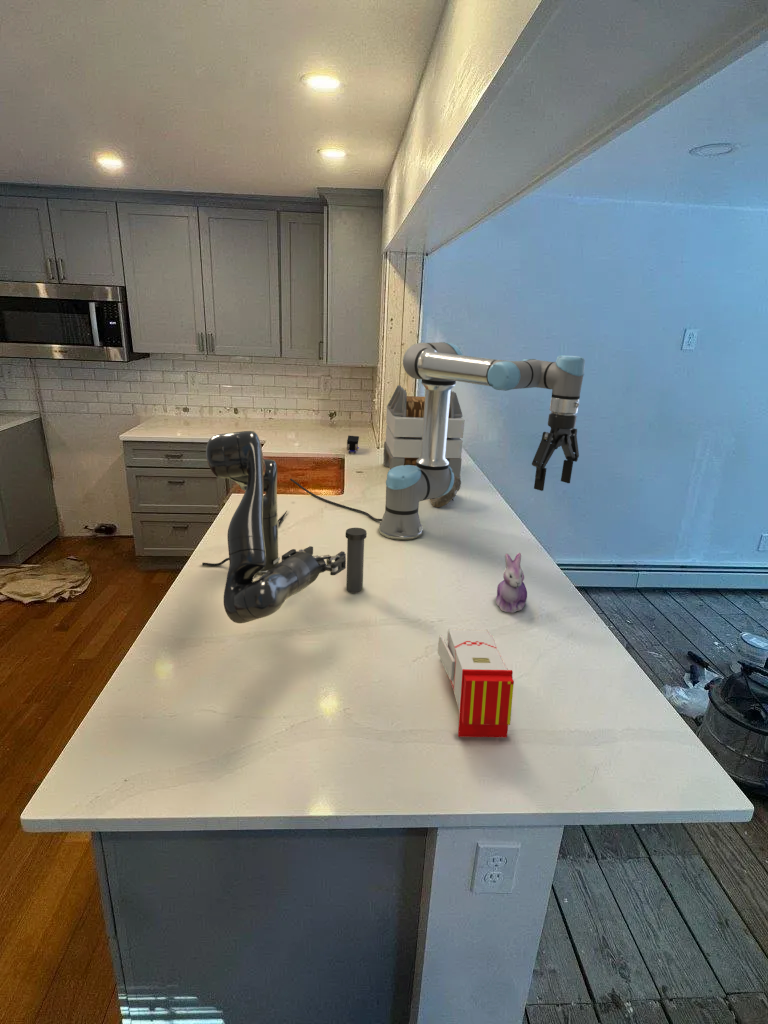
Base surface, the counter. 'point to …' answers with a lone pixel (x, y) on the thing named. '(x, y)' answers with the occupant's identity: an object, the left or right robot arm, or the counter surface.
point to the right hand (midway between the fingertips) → (552, 485)
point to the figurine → (512, 586)
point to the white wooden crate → (418, 431)
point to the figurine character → (352, 443)
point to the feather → (281, 518)
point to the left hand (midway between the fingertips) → (327, 552)
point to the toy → (478, 682)
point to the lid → (356, 534)
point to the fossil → (449, 496)
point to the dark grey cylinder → (355, 566)
